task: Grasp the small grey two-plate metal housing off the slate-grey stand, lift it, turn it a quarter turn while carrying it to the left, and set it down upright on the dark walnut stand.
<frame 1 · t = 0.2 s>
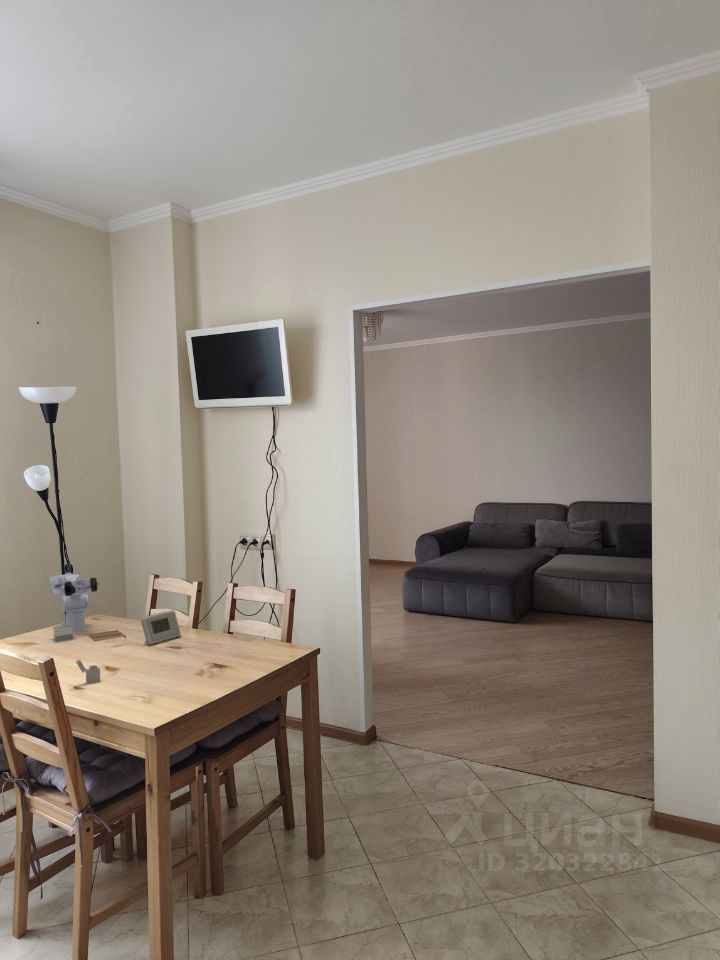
hand: (84, 588, 271), 21 cm above the table, tool horizontal, fingers open, 7 cm apart
housing: (63, 639, 270), point 1 cm above the table, touching grey stand
lighter: (88, 683, 222), on the table
grey stand: (63, 643, 271), on the table
digital clock: (161, 641, 272), on the table
walnut stand: (106, 639, 275), on the table
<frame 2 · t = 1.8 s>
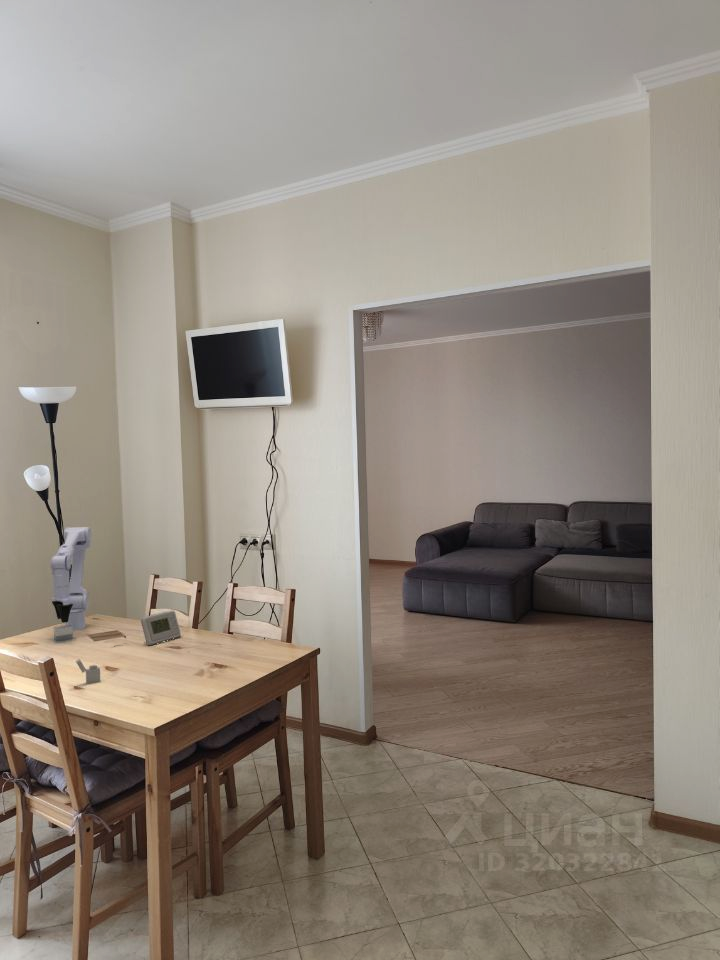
hand: (62, 620, 270), 9 cm above the table, tool pointing down, fingers open, 7 cm apart
nothing on the table moved.
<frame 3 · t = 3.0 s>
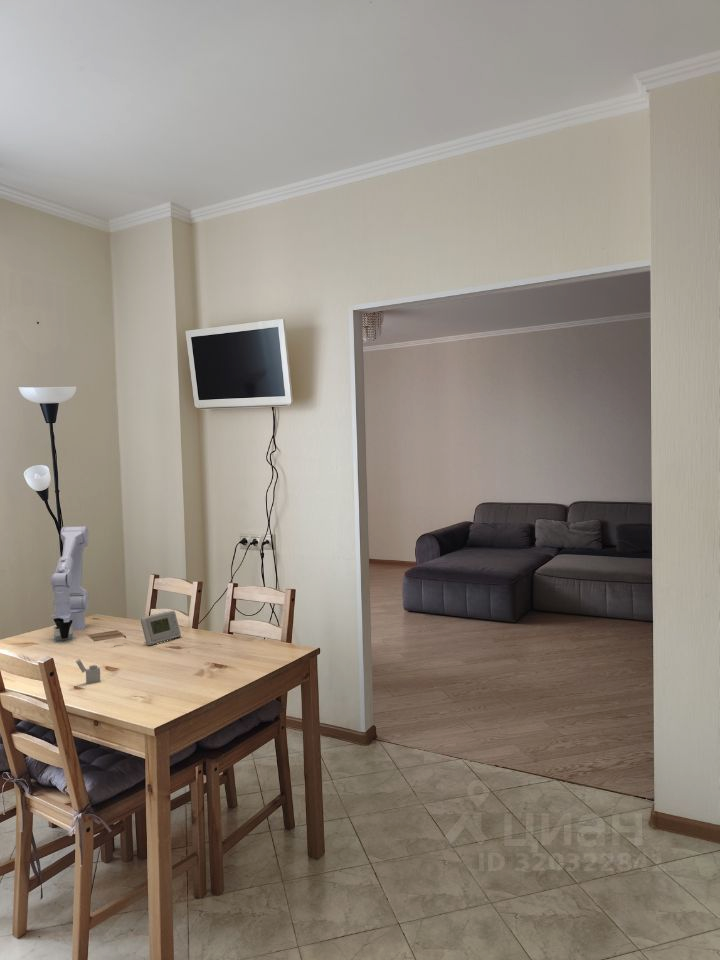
hand: (63, 637, 270), 2 cm above the table, tool pointing down, fingers closed on housing, 4 cm apart
housing: (63, 639, 270), point 1 cm above the table, touching grey stand, gripper
everything else where it was.
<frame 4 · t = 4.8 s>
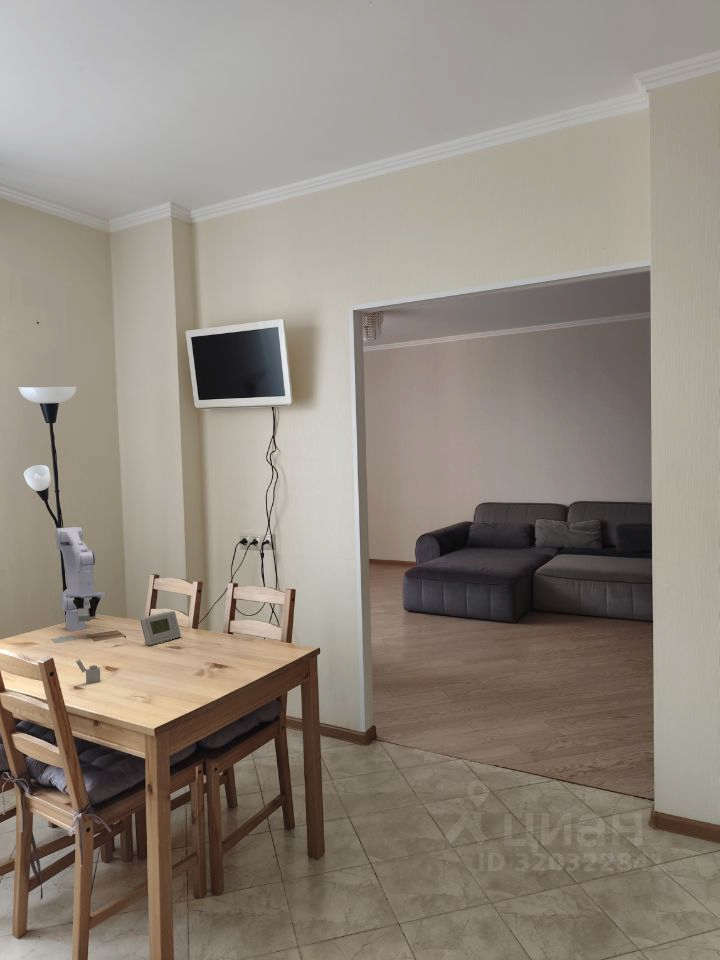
hand: (87, 616, 273), 10 cm above the table, tool pointing down, fingers closed on housing, 4 cm apart
housing: (87, 619, 272), point 9 cm above the table, touching gripper
everything else where it was.
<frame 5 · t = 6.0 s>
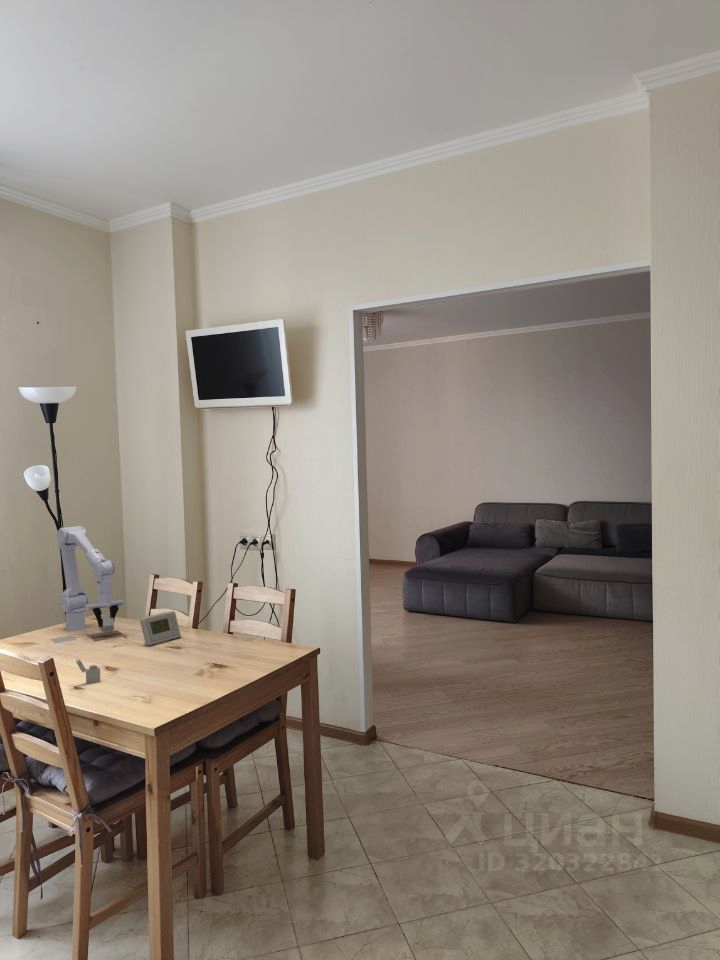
hand: (106, 625, 275), 6 cm above the table, tool pointing down, fingers closed on housing, 4 cm apart
housing: (106, 629, 274), point 4 cm above the table, touching gripper
when the fingers open (3 cm above the table, at t = 6.9 s): housing stays where it is, resting on walnut stand.
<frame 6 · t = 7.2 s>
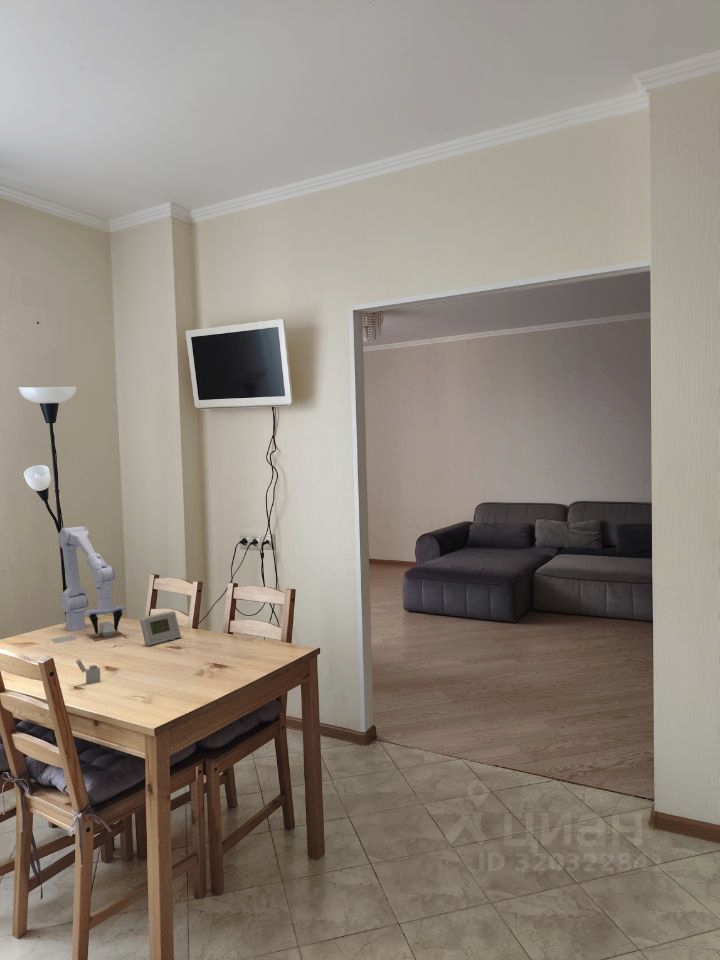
hand: (106, 631, 275), 3 cm above the table, tool pointing down, fingers open, 7 cm apart
housing: (106, 635, 275), point 1 cm above the table, touching walnut stand
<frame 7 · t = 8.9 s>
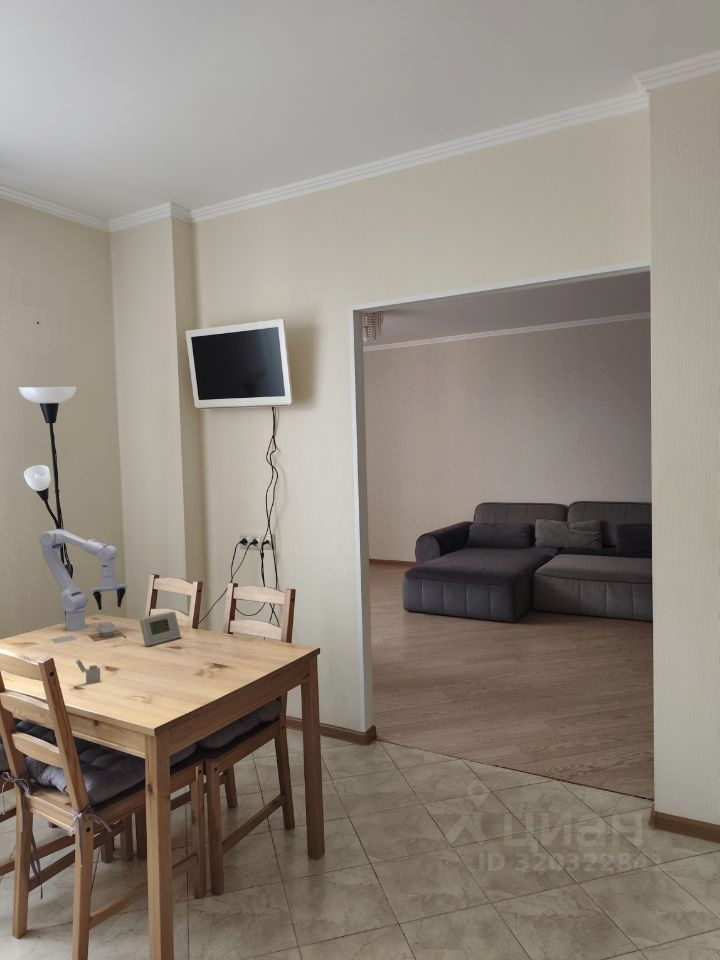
hand: (109, 608, 284), 10 cm above the table, tool pointing down, fingers open, 7 cm apart
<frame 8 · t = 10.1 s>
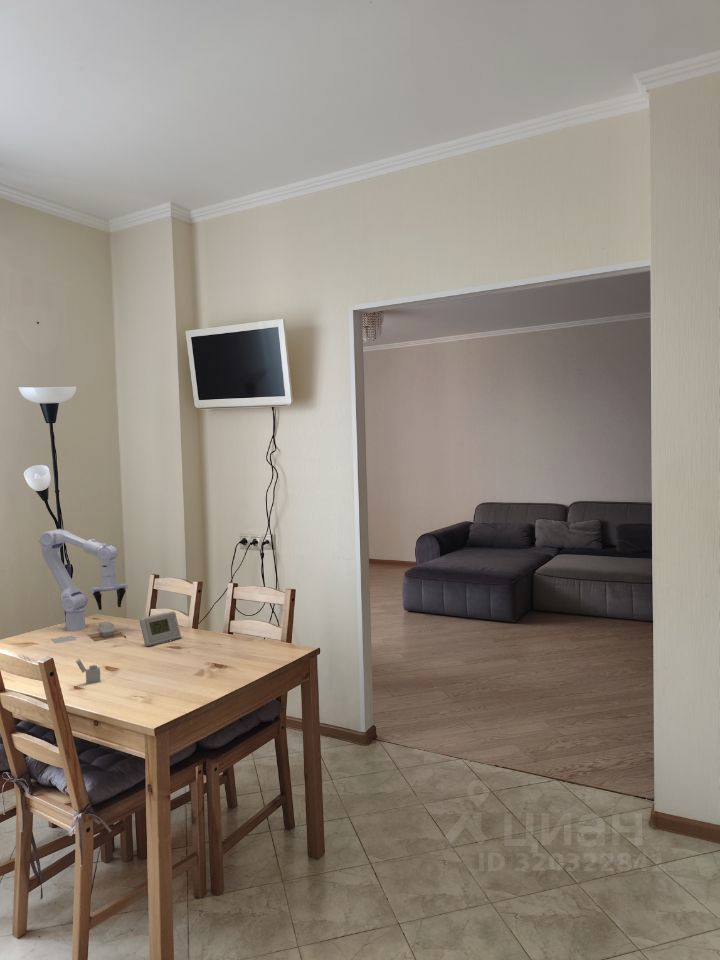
hand: (109, 608, 284), 10 cm above the table, tool pointing down, fingers open, 7 cm apart
at the end: housing inside the target area on the walnut stand (0.5 cm from its centre), point 1.5 cm above the walnut stand's base; housing tilted 0°; the gripper is holding nothing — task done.
